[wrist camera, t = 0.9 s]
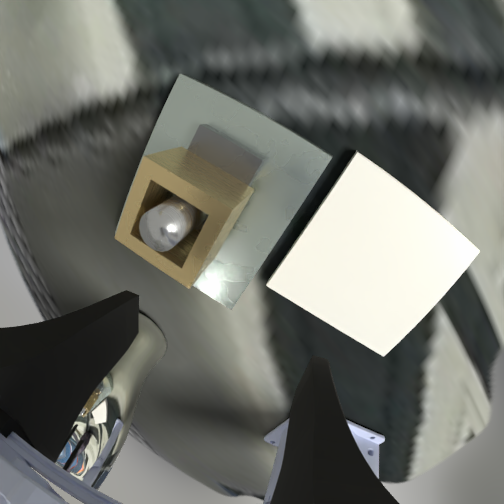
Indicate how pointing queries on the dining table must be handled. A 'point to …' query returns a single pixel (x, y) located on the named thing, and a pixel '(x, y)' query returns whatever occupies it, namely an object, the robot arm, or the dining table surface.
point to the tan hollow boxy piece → (193, 191)
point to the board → (372, 258)
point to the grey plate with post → (239, 166)
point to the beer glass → (111, 409)
